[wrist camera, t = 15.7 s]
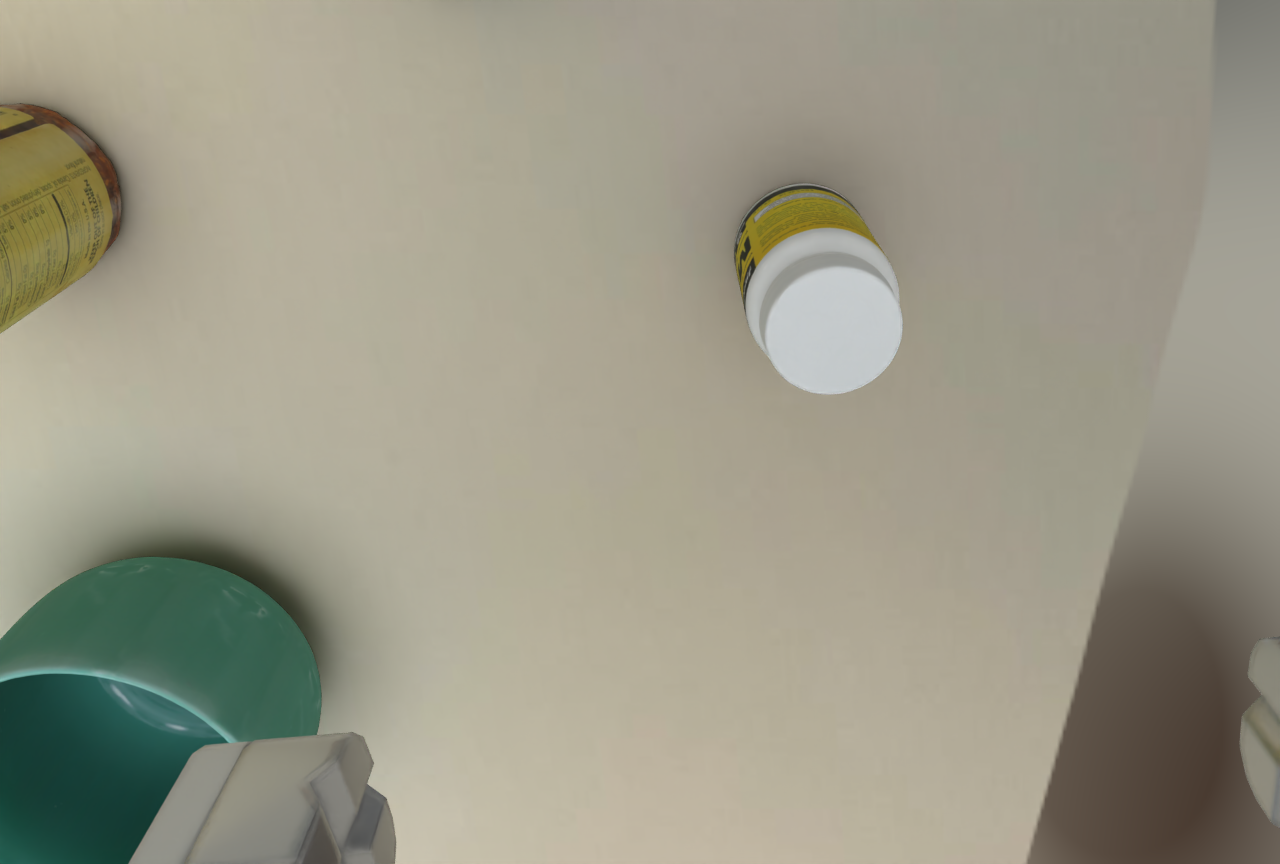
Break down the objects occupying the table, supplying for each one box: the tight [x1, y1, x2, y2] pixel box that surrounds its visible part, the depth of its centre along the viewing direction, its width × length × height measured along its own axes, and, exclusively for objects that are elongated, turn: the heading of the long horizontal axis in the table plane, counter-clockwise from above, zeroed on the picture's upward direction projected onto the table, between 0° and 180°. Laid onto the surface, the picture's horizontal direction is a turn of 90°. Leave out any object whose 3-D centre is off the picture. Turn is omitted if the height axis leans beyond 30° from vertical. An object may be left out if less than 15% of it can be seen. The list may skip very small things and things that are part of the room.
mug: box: [0, 557, 321, 864], centre depth 42 cm, size 17×13×10 cm
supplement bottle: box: [734, 183, 903, 395], centre depth 33 cm, size 5×5×8 cm
